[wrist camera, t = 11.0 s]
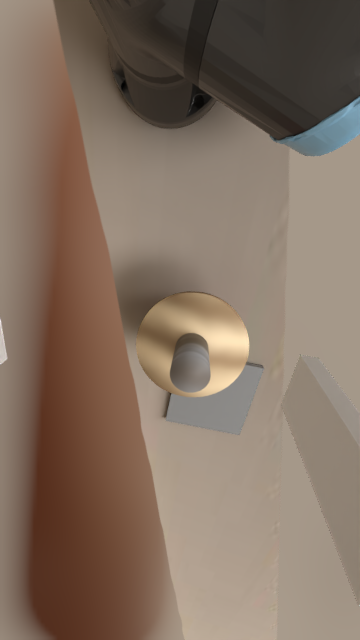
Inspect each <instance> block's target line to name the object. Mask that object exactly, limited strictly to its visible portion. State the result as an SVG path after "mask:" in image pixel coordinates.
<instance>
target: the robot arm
mask: <svg viewBox="0 0 360 640" xmlns="http://www.w3.org/2000/svg"><path fill="white" fill-rule="evenodd" d="M89 1H90V3H91V5H92V7H93V9H94V11H95V13H96V15H97V16H98V18H99V20H100V22H101V24H102V26H103V28H104V30H105V32H106V34H107V36H108V52H109V59H110V64H111V68H112V72H113V75H114V78H115V81H116V83H117V86H118V88H119V90H120V92H121V93H122V95H123V97H124V98H125V100H126V101H127V103H128V104H129V106H130V107H131V108H132V109H133V111H134V112H135V113H136V114H137V115H138V116H140V117H141V118H142V119H143V120H145V121H146V122H148V123H150V124H152V125H155V126H158V127H161V128H180V127H184V126H187V125H190V124H192V123H194V122H195V121H197V120H198V119H200V118H201V117H202V116H204V115H205V114H206V113H207V112H208V111H209V110H210V108H211V107H212V106H213V105H214V103H215V102H216V100H218V101H219V102H221V103H222V104H224V105H225V106H227V107H229V108H230V109H232V110H233V111H235V112H236V113H238V114H239V115H241V116H242V117H244V118H245V119H247V120H248V121H250V122H251V123H253V124H254V125H256V126H257V127H259V128H260V129H262V130H263V131H265V132H266V133H268V134H269V135H270V138H271V139H272V140H273V141H274V142H276V143H277V142H278V143H280V144H285V145H287V146H289V147H290V148H292V149H294V150H295V151H297V152H299V153H301V154H303V155H305V156H321V155H324V154H327V153H329V152H332V151H334V150H336V149H338V148H340V147H341V146H343V145H344V144H346V143H348V142H349V141H351V140H352V139H353V138H355V137H356V136H358V135H359V134H360V0H89ZM6 360H7V354H6V348H5V342H4V337H3V331H2V325H1V319H0V364H2V363H3V362H4V361H6ZM281 406H282V409H283V411H284V414H285V417H286V419H287V422H288V424H289V427H290V429H291V432H292V435H293V437H294V440H295V442H296V445H297V448H298V450H299V453H300V456H301V458H302V461H303V463H304V466H305V469H306V471H307V474H308V476H309V479H310V482H311V484H312V487H313V489H314V492H315V495H316V497H317V500H318V502H319V505H320V508H321V510H322V513H323V515H324V518H325V521H326V523H327V526H328V528H329V531H330V534H331V536H332V539H333V542H334V544H335V547H336V549H337V552H338V555H339V557H340V560H341V562H342V565H343V567H344V570H345V573H346V575H347V578H348V581H349V583H350V586H351V588H352V591H353V594H354V596H355V599H356V601H357V604H358V606H360V413H359V411H358V410H357V409H356V407H355V406H354V405H353V403H352V402H351V401H350V399H349V398H348V397H347V396H346V394H345V393H344V391H343V390H342V389H341V387H340V386H339V385H338V383H337V382H336V381H335V379H334V378H333V377H332V375H331V374H330V373H329V372H328V370H327V369H326V367H325V366H324V364H323V363H322V362H321V361H320V359H319V358H316V357H310V356H304V355H300V357H299V360H298V362H297V365H296V367H295V370H294V373H293V375H292V378H291V381H290V383H289V385H288V388H287V391H286V393H285V396H284V398H283V401H282V403H281Z"/></svg>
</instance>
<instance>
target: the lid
mask: <svg viewBox="0 0 360 640" xmlns="http://www.w3.org/2000/svg"><path fill="white" fill-rule="evenodd" d="M136 349H137V355H138V359H139V362H140V364H141V366H142V368H143V370H144V372H145V373H146V374H147V376H148V377H149V378H150V379H151V380H152V381H153V382H154V383H155V384H156V385H158V386H159V387H161V388H162V389H164V390H166V391H168V392H170V393H172V394H175V395H179V396H184V397H203V396H208V395H212V394H215V393H217V392H219V391H221V390H223V389H225V388H226V387H228V386H229V385H230V384H232V383H233V382H234V381H235V380H236V379H237V378H238V376H239V375H240V374H241V372H242V370H243V369H244V367H245V364H246V362H247V358H248V354H249V338H248V333H247V330H246V328H245V325H244V323H243V321H242V320H241V318H240V316H239V315H238V314H237V312H236V311H235V310H234V309H233V308H232V307H231V306H230V305H229V304H228V303H226V302H225V301H223V300H222V299H220V298H218V297H216V296H213V295H211V294H207V293H203V292H181V293H177V294H173V295H171V296H168V297H166V298H164V299H163V300H161V301H160V302H158V303H157V304H156V305H154V306H153V307H152V308H151V309H150V311H149V312H148V313H147V314H146V316H145V317H144V319H143V321H142V323H141V324H140V327H139V330H138V334H137V340H136Z"/></svg>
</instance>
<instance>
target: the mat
mask: <svg viewBox="0 0 360 640" xmlns="http://www.w3.org/2000/svg"><path fill="white" fill-rule="evenodd" d="M263 370H264V368H263V366H262V365H257V364H252V363H247V362H246V364H245V367H244V369H243V370H242V372H241V374H240V375H239V376H238V378H237V379H236V380H235V381H234V382H233V383H232V384H230V385H229V386H228V387H226V388H225V389H223V390H221V391H219V392H217V393H215V394H212V395H208V396H203V397H184V396H179V395H175V394H172V393H171V397H170V402H169V406H168V411H167V416H166V421H170V422H175V423H180V424H185V425H190V426H195V427H200V428H205V429H210V430H215V431H221V432H226V433H231V434H236V435H240V432H241V430H242V427H243V424H244V421H245V419H246V416H247V413H248V411H249V408H250V405H251V402H252V400H253V397H254V394H255V392H256V389H257V386H258V383H259V381H260V378H261V375H262V373H263Z"/></svg>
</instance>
